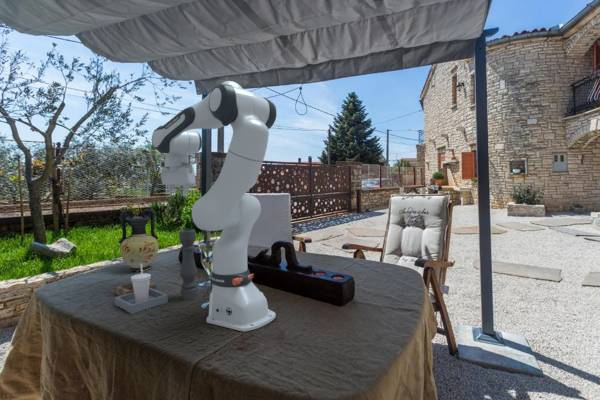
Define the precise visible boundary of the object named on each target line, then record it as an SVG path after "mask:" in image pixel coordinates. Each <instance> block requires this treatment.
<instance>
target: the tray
mask: <svg viewBox="0 0 600 400" xmlns="http://www.w3.org/2000/svg"><path fill="white" fill-rule="evenodd" d="M168 296H169V295H168V294H167V293H164V292H162V291H159V290H157V289H156V290H155V289H152V288H149V295H148V300H146V301H143V302H139V303H136V300H135V294H134V292H133V293H129V294H126V295H122V296H118V295H117V296H115V297H114V306H115V307H118V308H119V307H120V309H121V308H122V309H121V310H123V309H124V311H125V310H126V311H125V312H127V313H129V314H131V315H134V314H137V313H139V311H140V312H143V311H145V309H146V310H149V309H151V307H152V308H154V306H155V307H158V306H161V305H164V304H168V302H169V297H168ZM157 305H158V306H157ZM148 308H149V309H148ZM142 310H143V311H142ZM136 312H137V313H136ZM133 313H134V314H133Z"/></svg>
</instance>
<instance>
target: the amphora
mask: <svg viewBox="0 0 600 400" xmlns="http://www.w3.org/2000/svg"><path fill="white" fill-rule="evenodd" d="M119 216H120V217H119V221H120V225H121V226H120V227H121V234H122V237H121V238H120V239H119V240H118V244H120V245H119V255H120V257H121V259H122V261H123V262H124V263H125V264H126V265H127V266H128V267H129V268H130V269H129V271H130V272H131V271H141V265H140V264H141V263H142V271H143V272H145V271H144V270H147V271H149V270H148V269H150V268H151V269H152V267H151V264H152V263H153V262H154V261H155V260H156V258H157V255H158V253H159V242H158V240H159V237H158V236H157V234H155V233H156V231H155V230H156V228H155V225H156V223H155V222H156V217H155V216H156V215H155V212H154V211H153V210H152V209H151V208H145V209H143V210H142V211H141V216H135V213H134V211H133V210H131V209H124V210H122V212H121V213H120V215H119ZM149 220H150V234H149V233H148V232H147V230H146V225H147V224H148V222H149ZM126 222H128V225H129V226H130V227H131V232H130V235H129V236H127V227H126ZM151 269H150V270H151Z"/></svg>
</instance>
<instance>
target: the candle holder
mask: <svg viewBox="0 0 600 400" xmlns="http://www.w3.org/2000/svg"><path fill="white" fill-rule="evenodd" d="M178 236H179V239H178V240H179V242H180V243H181V246H180V251H181V252H182V261H181V265H180V271H179V275H180V277H181V279H182V283H181V285H180V287H181V288H180V290H179V291H180V299H181V300H182V301H191V300H194V299H197V298H198V297H199V288H198V286H197V285H198V283H197V281H196V277H197V276H198V269H197V266H196V262H195V257H194V255H195V254H194V250H195V249H196V246H195V245H194V244H195V241H196V239H197V238H196V237H197V236H196V230H195V229H181V230H179V231H178Z"/></svg>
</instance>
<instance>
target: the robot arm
mask: <svg viewBox="0 0 600 400" xmlns="http://www.w3.org/2000/svg"><path fill="white" fill-rule="evenodd" d="M276 119H277V107H276V105H275V104H274V103H273V102H272V101H271V100H270V99H268V98H266V97H263V96H260V95H259V94H256V93H253V92H251V90H248V89H245V88H243V87H242V86H241V85H240V84H239V83H237V82H235V81H232V80H226V81H223V82H222V83H220V84H217V85H216V86H214V88H212V90H211V91H210V92H209V93H208V94H207V95H206V97H204V98H203V99H202V100H200V101H198V102H197V103H195V104H193V105H190V106H188V107H186V108H184V109H182V110H181V111H179V112H178V113H177V114H175V116H173V117H172V118H171V119H170V120H169V121H167V122H166V123H165V124H163V125H159V126H158V127H157V128H156V129H155V130H153V132H152V135H151V144H152V146H153V148H154V149H156V151H157V152H159V153H160V154H165V159H163V160H161V162H160V163H159V164H160V165H159V167H160V169H161V170H160V177H161V184H162V185H163V186H167V189H168V191H169V196H171V197H172V196H173V197H175V196H176V191H175V189H174V188H175V186H182V188H183V191H181V196H182V197H188V195H189V190H190V186H195V184H196V175H195V173H196V172H195V168H194V166H193V164H192V163H191V162H189V161H190V159H189V155H194V154H197V153H198V152H199V151H201V149H202V146H203V140H202V139H203V138H202V136H201V134H200V133H199V132H198V131H196V130H216V129H220V128H222V127H228V126H229V125H230V126H231V128H232V136H231V141H230V142H229V145H228V149H227V152H226V155H225V160H224V162H223V164H222V165H223V166H222V168H221V171H220V174H219V175H218V177H217V179H216V180H215V182H214V183H213V184H212V186H211V188H209V189H208V191H207V192H206V193H205V194H204V195H202V196H201V197H200V198H199V199H197V200H196V201H195V202H194V203H193V205H192V207H191V218H192V221H193V224H194V225H195V226H196V227H197V228H198V230H199V229H200V230H202V231H209V232H211V231H213V232H217V231H221V233H220V237H219V239H218V240H217V241H216V242H215V243H214V245H213V246H212V249H211V250H212V252H211V253H212V271H211V275H210V278H211V284H212V288H211V291H210V294H209V307H208V316H207V317H206V323H207V324H212V325H215V326H219V327H224V328H227V329H231V330H236V331H240V332H250V331H252V330H257V329H260V328H262V327H264V326H266V325H268V324H270V323H271V322H272V321H273V320H275V319H276V317H277V316H276V315H277V314H276V312H275V311H273V310H271V309H269V304H268V300H267V298H266V296H265V295H264V294H265V293H264V292H262V291H261V290H259V288H258V287H257V286H256V285H255V284H254V282H253V281H252V280H253V278H254V275H255V274H254V273H250V269H249V268H248V248H249V247H248V246H249V239H250V237H251V236H250V235H251V233H252V229H253V227H254V225H255V223H256V221H257V220H258V219H259V218H260V216H261V212H262V206H261V202H260V201H259V200H258V198H257V197H256V196H254V195H251V194H248V193H247V192H248V191H249V190H250V189H251V188H253V187H254V186H255V185H256V183H257V182H258V178H259V175H260V172H261V169H262V165H263V163H264V160H265V156H266V152H267V148H268V142H269V134H270V133H269V131H270V129H271V128H272V127H273V126H274V124H275V122H276Z"/></svg>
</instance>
